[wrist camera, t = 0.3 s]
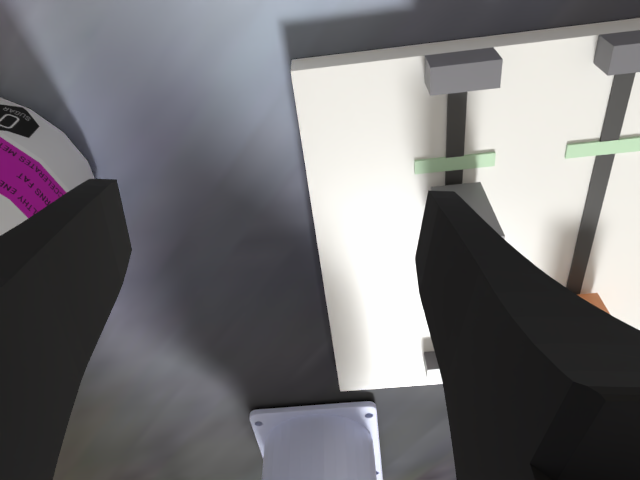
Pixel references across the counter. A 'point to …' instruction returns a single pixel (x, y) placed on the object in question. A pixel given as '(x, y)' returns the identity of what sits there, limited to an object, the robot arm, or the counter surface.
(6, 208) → the supplement can
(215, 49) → the counter surface
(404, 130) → the panel
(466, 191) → the grey rectangular box
